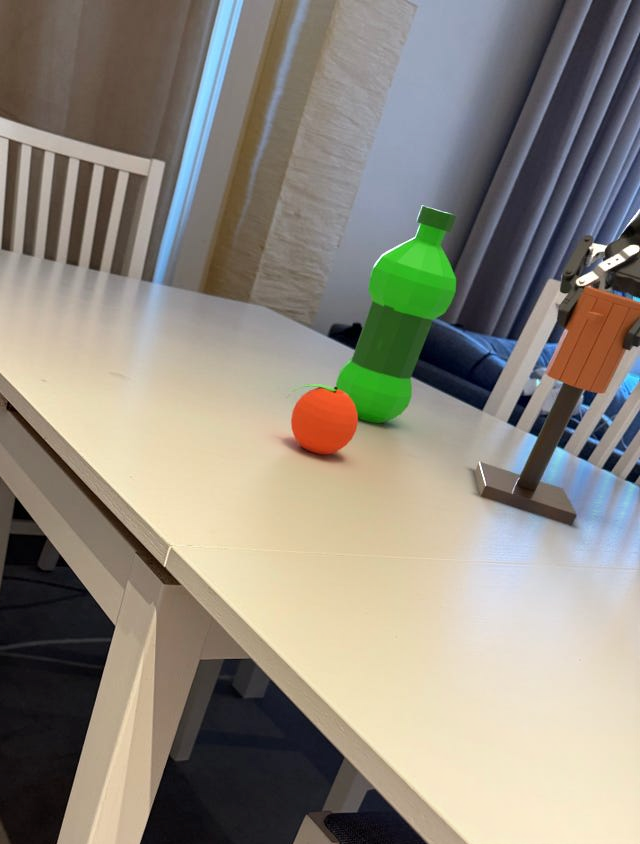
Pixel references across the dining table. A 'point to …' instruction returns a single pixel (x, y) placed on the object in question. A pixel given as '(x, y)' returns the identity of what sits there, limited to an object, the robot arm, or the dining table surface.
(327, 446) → the clementine
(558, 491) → the stand
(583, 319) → the orange letterbox
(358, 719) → the dining table surface
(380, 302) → the plastic bottle
